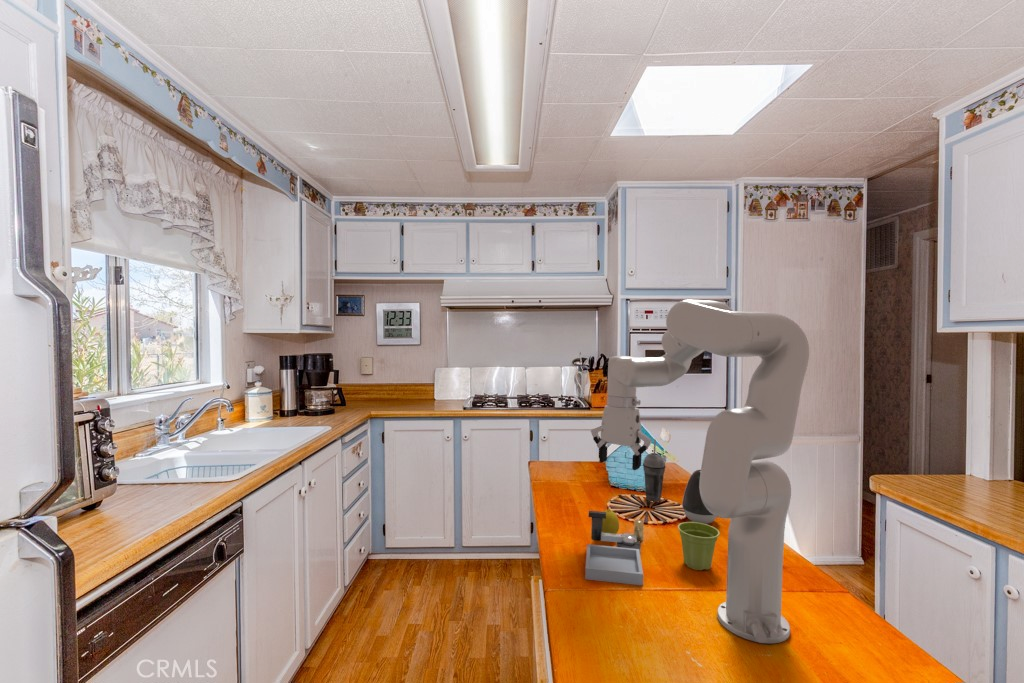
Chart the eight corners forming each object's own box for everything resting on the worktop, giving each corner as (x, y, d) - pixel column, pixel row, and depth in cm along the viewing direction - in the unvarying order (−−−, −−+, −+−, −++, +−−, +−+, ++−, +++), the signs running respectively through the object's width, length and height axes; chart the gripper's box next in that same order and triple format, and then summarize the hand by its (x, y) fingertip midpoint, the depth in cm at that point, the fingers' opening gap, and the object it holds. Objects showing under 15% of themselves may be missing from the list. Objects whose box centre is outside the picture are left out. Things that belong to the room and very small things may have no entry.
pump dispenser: (683, 525, 142) (685, 473, 142) (680, 512, 153) (681, 463, 152) (721, 529, 140) (723, 476, 140) (715, 516, 150) (717, 466, 150)
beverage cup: (641, 502, 161) (643, 441, 160) (642, 495, 168) (643, 436, 167) (664, 505, 159) (666, 443, 158) (664, 497, 166) (666, 438, 165)
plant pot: (681, 552, 125) (682, 518, 125) (721, 562, 120) (722, 527, 120) (672, 567, 117) (673, 531, 117) (715, 578, 112) (716, 540, 112)
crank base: (646, 557, 122) (646, 537, 122) (616, 554, 123) (617, 535, 123) (642, 538, 133) (643, 519, 133) (615, 535, 135) (615, 517, 135)
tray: (642, 585, 109) (643, 574, 109) (585, 579, 111) (585, 568, 111) (638, 559, 121) (639, 549, 121) (586, 554, 123) (587, 544, 123)
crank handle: (636, 539, 127) (636, 512, 127) (637, 545, 123) (637, 518, 123) (588, 534, 129) (588, 508, 129) (587, 541, 125) (588, 514, 125)
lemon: (594, 540, 131) (595, 510, 131) (601, 533, 136) (602, 504, 136) (615, 545, 129) (616, 514, 128) (621, 537, 134) (621, 508, 133)
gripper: (657, 404, 130) (655, 468, 130) (599, 396, 140) (597, 456, 141) (646, 407, 124) (643, 475, 125) (585, 399, 135) (584, 461, 135)
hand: (619, 465), depth 133 cm, fingers open, 9 cm apart
